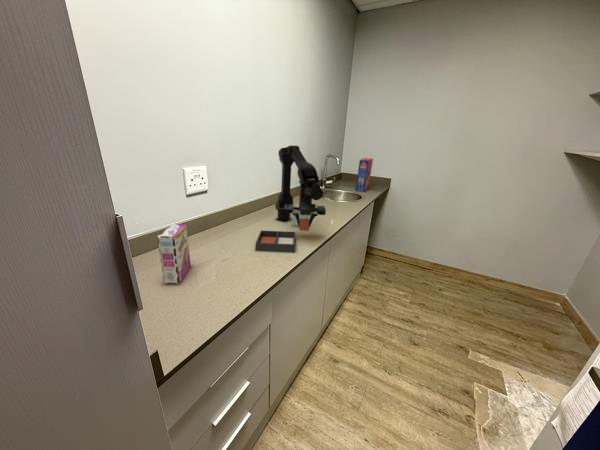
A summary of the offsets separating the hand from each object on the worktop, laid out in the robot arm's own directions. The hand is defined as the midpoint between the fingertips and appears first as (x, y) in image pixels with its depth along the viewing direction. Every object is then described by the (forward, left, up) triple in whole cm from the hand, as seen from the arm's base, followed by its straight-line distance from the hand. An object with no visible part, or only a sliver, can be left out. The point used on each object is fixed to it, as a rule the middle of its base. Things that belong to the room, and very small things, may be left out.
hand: (304, 226), depth 115 cm
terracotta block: (0, 0, -1) cm, 1 cm away
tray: (-6, -14, -6) cm, 16 cm away
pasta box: (-10, +138, -6) cm, 139 cm away
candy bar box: (-19, -53, -6) cm, 57 cm away
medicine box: (-9, +13, -6) cm, 17 cm away
